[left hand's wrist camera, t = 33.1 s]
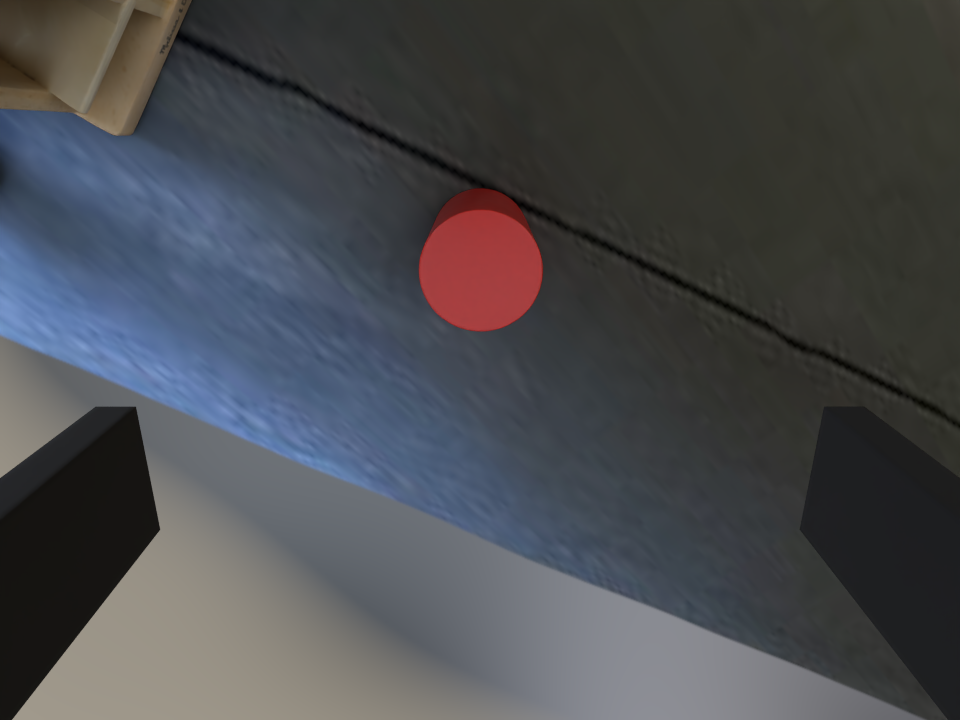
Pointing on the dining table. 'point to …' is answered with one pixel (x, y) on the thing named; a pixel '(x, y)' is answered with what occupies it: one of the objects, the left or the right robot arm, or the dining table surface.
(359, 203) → the dining table surface
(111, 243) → the dining table surface
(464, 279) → the tin
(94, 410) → the left robot arm
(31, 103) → the pounding bench toy
